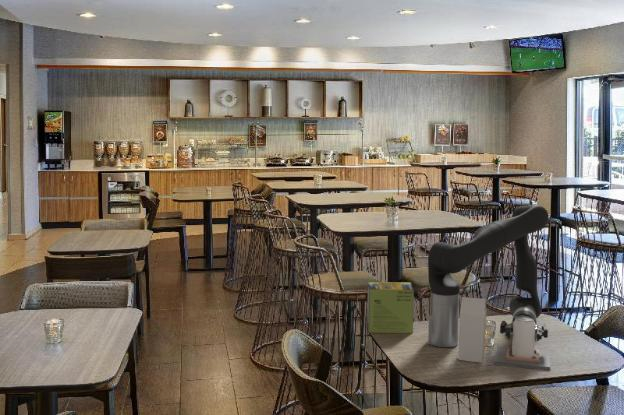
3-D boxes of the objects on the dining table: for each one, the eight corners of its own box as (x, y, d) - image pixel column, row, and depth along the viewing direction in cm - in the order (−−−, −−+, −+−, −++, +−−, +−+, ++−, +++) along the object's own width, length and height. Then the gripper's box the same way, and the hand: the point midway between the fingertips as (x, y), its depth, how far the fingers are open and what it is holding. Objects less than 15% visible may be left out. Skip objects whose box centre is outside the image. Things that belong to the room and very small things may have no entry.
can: (523, 361, 209) (524, 322, 207) (507, 354, 215) (509, 317, 213) (538, 357, 212) (540, 319, 210) (522, 351, 218) (524, 314, 216)
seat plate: (494, 364, 209) (494, 358, 209) (497, 348, 223) (497, 342, 223) (550, 370, 204) (550, 364, 204) (549, 353, 218) (549, 348, 218)
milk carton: (481, 363, 210) (484, 302, 207) (458, 360, 212) (460, 300, 210) (484, 355, 217) (486, 296, 214) (461, 352, 219) (463, 294, 216)
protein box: (413, 333, 238) (414, 289, 236) (368, 333, 238) (369, 289, 236) (409, 324, 249) (410, 281, 246) (366, 323, 249) (367, 281, 247)
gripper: (502, 307, 228) (499, 322, 213) (548, 311, 224) (548, 326, 208) (501, 330, 229) (498, 345, 214) (546, 334, 225) (547, 350, 209)
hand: (523, 336), depth 211 cm, fingers open, 8 cm apart
